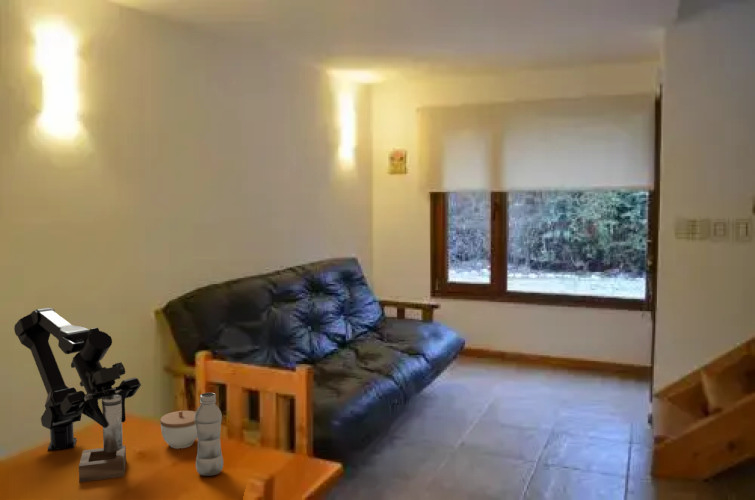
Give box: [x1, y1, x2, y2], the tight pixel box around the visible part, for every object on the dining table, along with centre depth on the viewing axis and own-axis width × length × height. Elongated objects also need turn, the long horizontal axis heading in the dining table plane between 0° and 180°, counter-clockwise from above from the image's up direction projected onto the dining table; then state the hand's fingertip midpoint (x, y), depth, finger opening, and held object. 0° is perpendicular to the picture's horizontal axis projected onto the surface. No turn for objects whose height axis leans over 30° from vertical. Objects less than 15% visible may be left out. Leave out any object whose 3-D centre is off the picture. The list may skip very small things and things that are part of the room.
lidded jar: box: [159, 410, 198, 450], centre depth 177 cm, size 11×11×9 cm
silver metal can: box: [101, 395, 124, 452], centre depth 159 cm, size 5×5×13 cm
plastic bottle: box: [194, 392, 224, 477], centre depth 158 cm, size 6×7×20 cm
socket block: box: [78, 444, 127, 483], centre depth 160 cm, size 10×10×4 cm
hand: (115, 424), depth 158 cm, fingers closed on silver metal can, 4 cm apart
